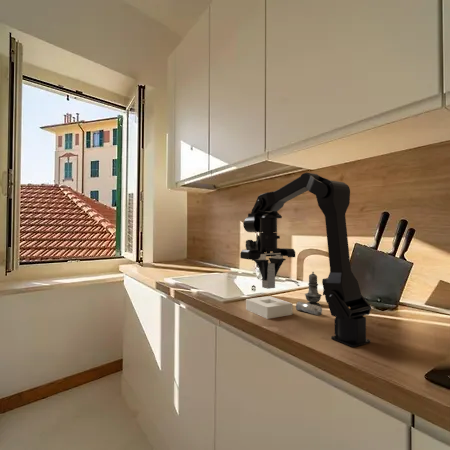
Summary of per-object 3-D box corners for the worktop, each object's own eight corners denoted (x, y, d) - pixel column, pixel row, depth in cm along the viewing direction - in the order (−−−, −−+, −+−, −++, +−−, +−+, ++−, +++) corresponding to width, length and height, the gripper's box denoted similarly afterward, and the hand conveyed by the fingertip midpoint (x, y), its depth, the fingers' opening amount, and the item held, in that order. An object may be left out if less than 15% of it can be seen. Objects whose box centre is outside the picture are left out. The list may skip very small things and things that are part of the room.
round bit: (316, 316, 92) (321, 315, 94) (316, 306, 93) (322, 305, 94) (295, 310, 99) (301, 310, 100) (296, 301, 99) (301, 301, 101)
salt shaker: (316, 307, 102) (316, 273, 102) (301, 304, 106) (301, 271, 107) (324, 304, 106) (324, 271, 107) (309, 301, 111) (309, 269, 111)
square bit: (275, 287, 96) (274, 263, 96) (267, 288, 95) (267, 263, 95) (269, 286, 99) (269, 262, 99) (262, 287, 98) (262, 262, 98)
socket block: (292, 314, 94) (292, 303, 94) (267, 318, 89) (267, 307, 89) (269, 305, 104) (269, 296, 105) (245, 309, 100) (245, 299, 100)
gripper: (275, 232, 109) (275, 274, 108) (231, 232, 100) (231, 278, 100) (296, 232, 99) (296, 279, 99) (249, 232, 90) (250, 283, 90)
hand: (268, 279), depth 97 cm, fingers closed on square bit, 3 cm apart
